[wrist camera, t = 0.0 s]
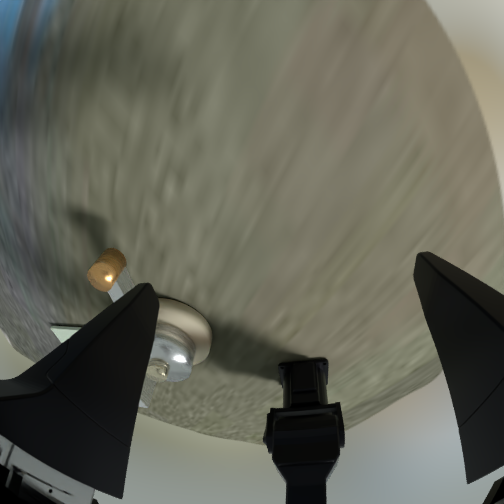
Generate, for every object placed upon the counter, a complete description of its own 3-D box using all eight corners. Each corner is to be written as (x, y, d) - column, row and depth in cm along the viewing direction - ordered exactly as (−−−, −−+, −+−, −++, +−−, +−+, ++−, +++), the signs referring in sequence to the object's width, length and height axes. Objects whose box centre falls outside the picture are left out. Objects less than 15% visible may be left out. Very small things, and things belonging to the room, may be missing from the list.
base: (221, 353, 34) (219, 366, 32) (153, 353, 36) (149, 364, 34) (197, 295, 29) (193, 308, 27) (120, 300, 30) (114, 311, 29)
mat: (130, 376, 41) (129, 379, 40) (88, 370, 42) (87, 373, 42) (93, 328, 34) (91, 331, 34) (52, 325, 36) (50, 328, 35)
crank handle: (203, 362, 32) (196, 394, 28) (153, 360, 33) (142, 390, 29) (146, 236, 23) (123, 268, 19) (87, 246, 24) (62, 275, 20)
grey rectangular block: (158, 375, 39) (148, 407, 34) (137, 374, 40) (126, 404, 35) (147, 360, 37) (135, 394, 32) (125, 359, 38) (112, 390, 33)
